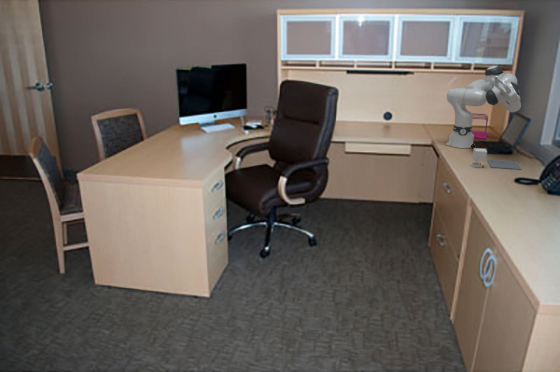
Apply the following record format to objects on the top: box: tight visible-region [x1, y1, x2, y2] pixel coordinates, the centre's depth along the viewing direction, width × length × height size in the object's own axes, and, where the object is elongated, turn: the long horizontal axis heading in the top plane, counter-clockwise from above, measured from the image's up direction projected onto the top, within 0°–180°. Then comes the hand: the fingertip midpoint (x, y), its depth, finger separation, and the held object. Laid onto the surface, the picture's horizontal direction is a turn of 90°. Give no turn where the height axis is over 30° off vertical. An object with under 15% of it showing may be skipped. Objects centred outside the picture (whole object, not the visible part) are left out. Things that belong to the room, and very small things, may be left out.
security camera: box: [469, 147, 488, 168], centre depth 262 cm, size 6×7×10 cm
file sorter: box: [471, 112, 489, 141], centre depth 339 cm, size 17×25×16 cm
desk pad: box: [486, 159, 522, 171], centre depth 264 cm, size 16×16×1 cm
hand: (500, 81), depth 260 cm, fingers open, 8 cm apart
